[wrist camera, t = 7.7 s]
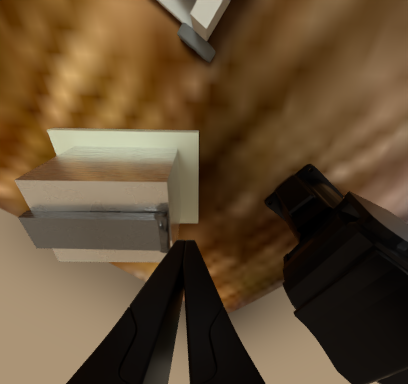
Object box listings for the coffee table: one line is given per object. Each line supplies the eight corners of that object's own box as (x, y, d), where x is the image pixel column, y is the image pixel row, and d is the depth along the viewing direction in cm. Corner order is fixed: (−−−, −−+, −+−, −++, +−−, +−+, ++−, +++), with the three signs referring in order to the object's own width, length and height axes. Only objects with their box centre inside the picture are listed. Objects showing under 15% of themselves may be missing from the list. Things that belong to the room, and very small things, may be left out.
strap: (168, 210, 14) (166, 218, 13) (171, 244, 16) (169, 253, 15) (26, 207, 14) (16, 215, 13) (45, 241, 16) (37, 250, 15)
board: (198, 130, 19) (198, 132, 18) (198, 219, 25) (198, 223, 24) (52, 127, 19) (47, 130, 18) (86, 218, 24) (83, 222, 24)
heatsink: (177, 148, 19) (166, 182, 13) (181, 213, 23) (173, 262, 17) (65, 146, 19) (2, 179, 13) (89, 212, 23) (49, 261, 17)
